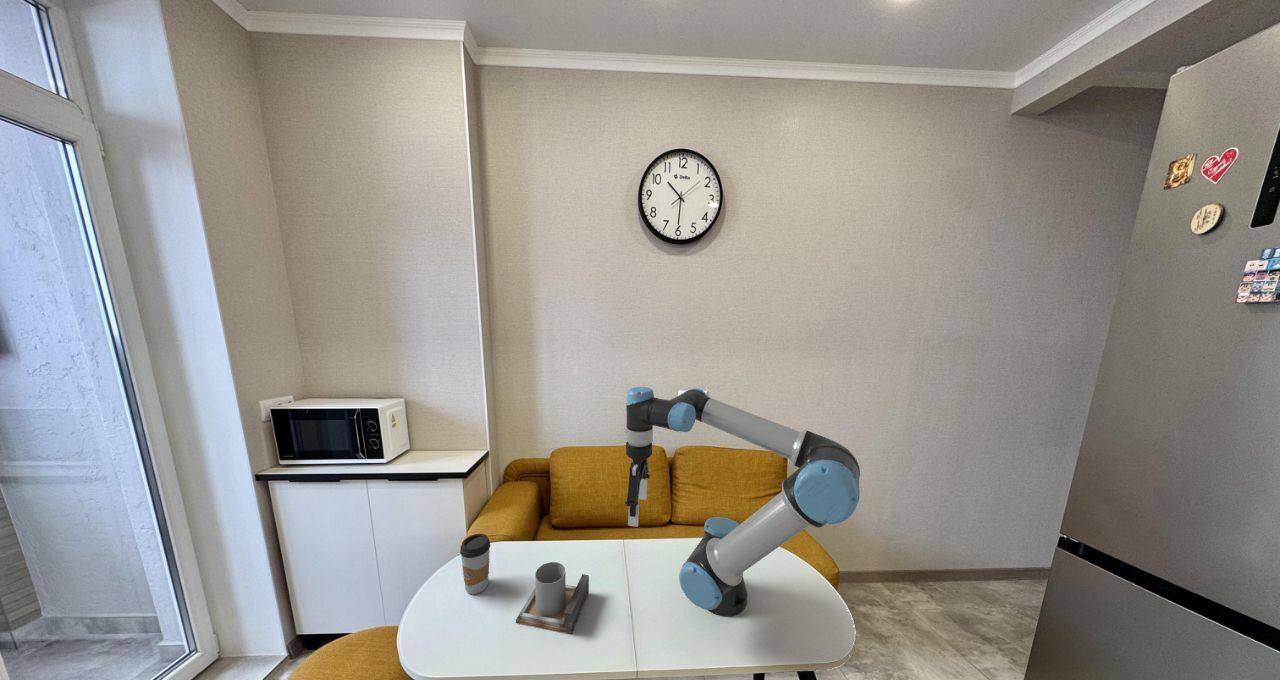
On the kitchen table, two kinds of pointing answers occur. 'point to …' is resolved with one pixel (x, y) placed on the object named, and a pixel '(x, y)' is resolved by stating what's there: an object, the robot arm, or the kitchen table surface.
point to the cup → (550, 589)
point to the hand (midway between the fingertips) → (638, 511)
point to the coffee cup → (475, 562)
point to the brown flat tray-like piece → (566, 617)
